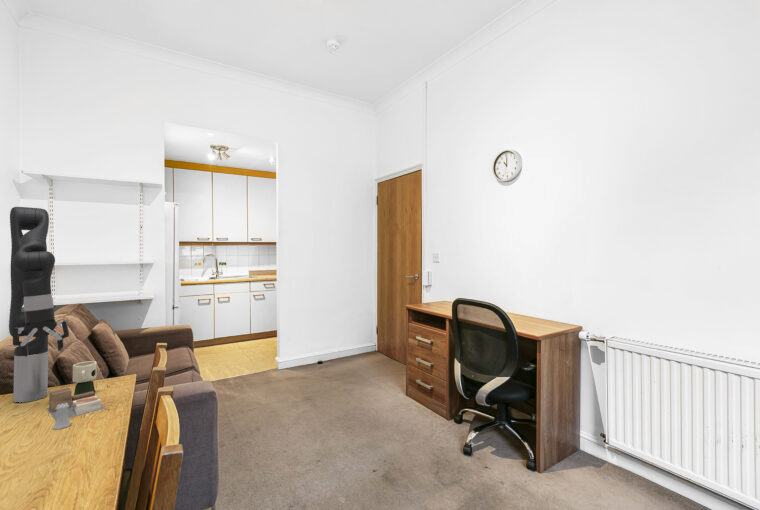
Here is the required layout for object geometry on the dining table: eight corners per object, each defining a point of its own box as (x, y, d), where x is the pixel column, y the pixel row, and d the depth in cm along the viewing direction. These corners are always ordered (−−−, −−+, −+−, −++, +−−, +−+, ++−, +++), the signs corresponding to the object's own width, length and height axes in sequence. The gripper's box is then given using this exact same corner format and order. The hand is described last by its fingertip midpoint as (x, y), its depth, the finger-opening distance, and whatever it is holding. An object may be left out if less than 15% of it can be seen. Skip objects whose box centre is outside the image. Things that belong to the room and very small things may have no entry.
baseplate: (46, 411, 122) (46, 408, 122) (93, 400, 132) (93, 396, 132) (55, 425, 112) (56, 421, 112) (106, 411, 122) (106, 407, 122)
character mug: (94, 400, 132) (95, 365, 132) (69, 404, 128) (70, 368, 128) (97, 391, 141) (98, 358, 141) (74, 394, 137) (75, 361, 138)
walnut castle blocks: (49, 408, 122) (49, 391, 122) (92, 397, 131) (92, 381, 131) (51, 412, 119) (52, 394, 119) (96, 401, 128) (96, 384, 128)
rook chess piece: (59, 434, 106) (60, 407, 106) (48, 433, 107) (48, 406, 107) (75, 427, 110) (75, 402, 111) (64, 426, 111) (64, 401, 111)
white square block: (72, 409, 121) (72, 400, 121) (95, 403, 126) (95, 394, 126) (76, 414, 117) (77, 405, 117) (100, 408, 122) (100, 399, 122)
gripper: (66, 303, 132) (70, 346, 132) (12, 310, 123) (17, 355, 123) (65, 305, 126) (69, 350, 126) (7, 312, 117) (12, 360, 117)
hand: (43, 353), depth 125 cm, fingers open, 8 cm apart
